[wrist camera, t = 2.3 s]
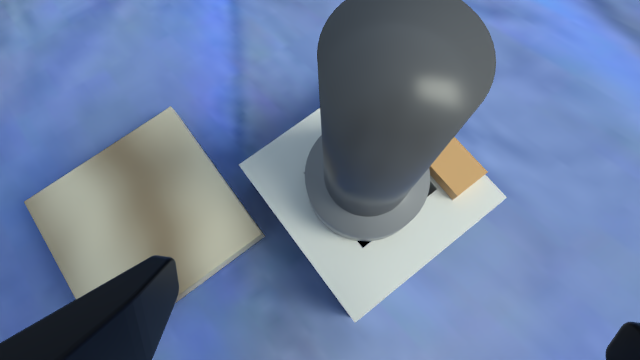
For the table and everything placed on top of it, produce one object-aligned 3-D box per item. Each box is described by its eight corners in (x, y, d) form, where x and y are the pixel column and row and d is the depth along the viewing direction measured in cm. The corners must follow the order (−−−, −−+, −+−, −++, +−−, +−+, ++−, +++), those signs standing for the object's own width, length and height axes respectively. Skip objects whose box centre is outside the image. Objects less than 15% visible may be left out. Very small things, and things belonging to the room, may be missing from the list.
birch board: (115, 347, 18) (103, 350, 17) (38, 205, 20) (23, 201, 19) (265, 236, 20) (261, 233, 19) (177, 114, 22) (170, 106, 21)
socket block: (351, 317, 18) (356, 324, 15) (251, 182, 20) (234, 160, 17) (480, 210, 20) (514, 193, 16) (374, 94, 22) (383, 56, 18)
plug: (350, 269, 19) (391, 232, 6) (291, 192, 20) (229, 35, 8) (427, 209, 20) (593, 71, 7) (365, 138, 21) (416, -83, 9)
